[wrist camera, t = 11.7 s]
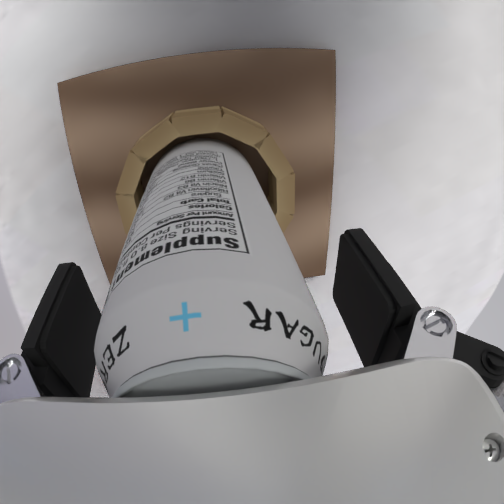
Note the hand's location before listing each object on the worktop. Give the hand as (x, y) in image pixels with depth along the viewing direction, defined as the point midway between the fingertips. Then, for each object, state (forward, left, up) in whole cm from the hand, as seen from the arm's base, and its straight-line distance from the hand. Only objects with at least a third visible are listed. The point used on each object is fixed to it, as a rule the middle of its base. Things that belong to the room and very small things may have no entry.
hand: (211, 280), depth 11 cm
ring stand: (0, 0, -10) cm, 10 cm away
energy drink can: (0, 0, -10) cm, 10 cm away
